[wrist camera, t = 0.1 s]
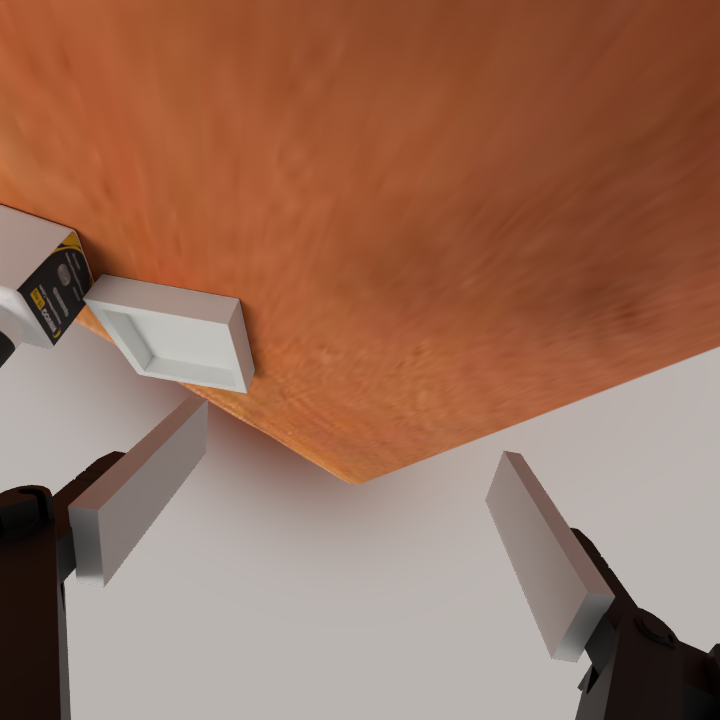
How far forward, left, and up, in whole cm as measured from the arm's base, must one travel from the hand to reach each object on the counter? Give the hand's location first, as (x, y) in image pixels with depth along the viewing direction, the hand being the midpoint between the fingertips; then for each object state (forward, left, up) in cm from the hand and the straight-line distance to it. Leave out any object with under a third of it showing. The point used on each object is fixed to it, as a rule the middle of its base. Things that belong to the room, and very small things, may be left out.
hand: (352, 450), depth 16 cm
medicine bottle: (+7, -27, -16) cm, 32 cm away
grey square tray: (+15, -17, -15) cm, 28 cm away
